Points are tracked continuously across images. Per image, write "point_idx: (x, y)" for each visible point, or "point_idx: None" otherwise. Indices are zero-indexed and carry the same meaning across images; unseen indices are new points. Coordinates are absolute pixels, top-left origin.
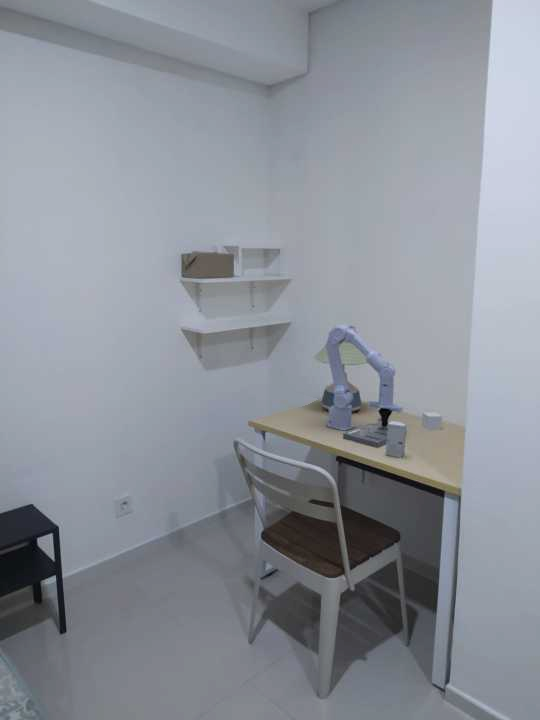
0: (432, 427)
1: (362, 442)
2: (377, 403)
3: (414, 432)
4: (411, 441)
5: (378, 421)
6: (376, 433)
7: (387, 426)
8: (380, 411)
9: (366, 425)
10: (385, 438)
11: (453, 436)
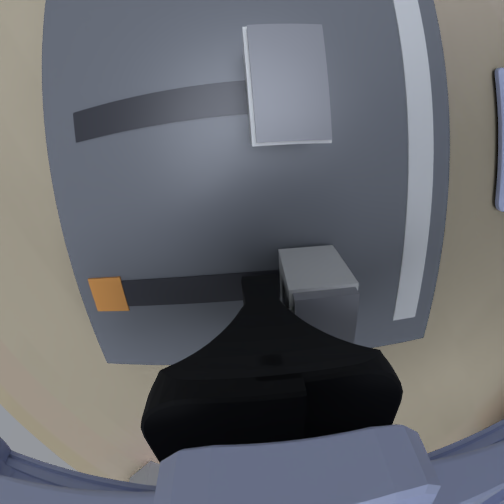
0: (140, 476)
1: None
2: (490, 501)
3: None
4: (18, 256)
5: (334, 279)
6: (204, 67)
7: None
8: (322, 368)
9: (440, 232)
10: (54, 37)
11: (42, 436)
